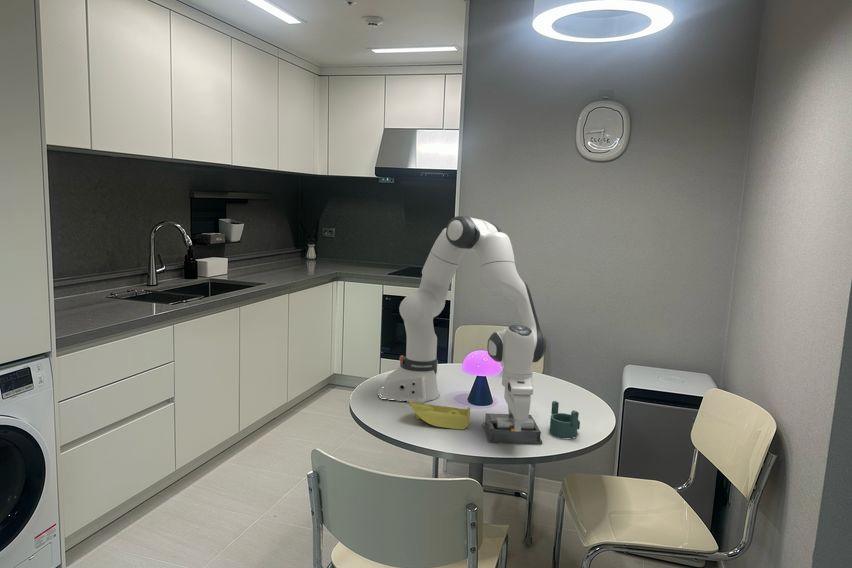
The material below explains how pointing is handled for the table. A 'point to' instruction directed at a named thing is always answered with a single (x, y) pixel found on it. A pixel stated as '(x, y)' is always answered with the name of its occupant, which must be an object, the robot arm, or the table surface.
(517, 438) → the grey flat box
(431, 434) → the table surface
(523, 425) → the gray metallic block
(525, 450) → the table surface
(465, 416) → the plastic component
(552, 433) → the bracket
